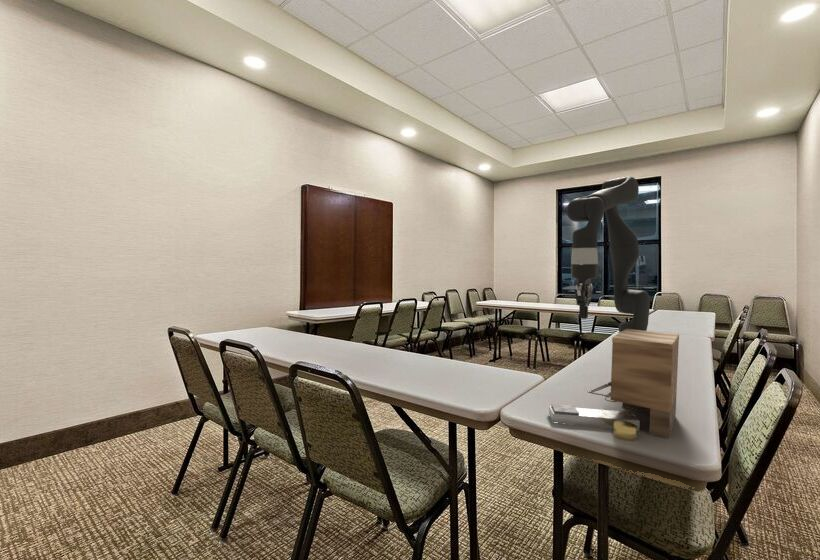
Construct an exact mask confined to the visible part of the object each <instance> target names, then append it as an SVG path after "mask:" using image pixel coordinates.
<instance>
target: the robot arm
mask: <svg viewBox="0 0 820 560" xmlns="http://www.w3.org/2000/svg"><path fill="white" fill-rule="evenodd" d="M638 195H639V183H638V180H636V178H635V177H633V176H623V177H618V178H613V179H607V180H604V182H602V185H601V189H600V190H598V191H595V192H593V193H590V194H589V195H586V196H582V197H581V196H580V197H577V198H574V199H572V200H571V201H570V202H569V203H568V205H567V207H566V211H565V212H566V216H567V218H568V219H569V220H570V221H572V222H577V223H580V222H587V224H586V225H585V226H584V227H582V228H577V229H575V230H574V231H573V232H572V248H571V249H572V252H571V261H570V263H571V264H570V265H571V266H570V267H571V269H570V272H571V273H570V276H571V277H570V278H572V279H577V284H575V289H574V296H575V300H576V305H577V306H578V307H579V311H578V312H579V313H578V316H579V318H580V319H582V320H585V319H588V317H589V306H590V304H591V302H592V296H593V291H594V287H593V284H592V283H591V279H594V280H595V279H597V278H598V274H599V270H598V269H599V254H598V235H599V230H600V227H601V223H602V221H603V217H604V214H605V218H606V224H607V229H608V230H607V231H608V241H609V249H610V259H611V264H612V272H613V273H612V274H613V301H614V302H613V303H614V306H615V308H616V309H615V310H617V312H619V313H621V314H626V315H627V314H628V315H633V316H632V318H631V319H630V320H628V321H625V322H620V323H619V324H618V333H617V334H619V333H620V332H622V331H624V330H625V329H633V330H643V331H648V325H649V318H650V317H649V315H650V308H651V298H650V295H649V293H648V291H646V290H642V289H641V290H639V289H629V283H628V282H629V276H630V274H631V272H632V270H633V269H634V267H635V265H636V263H637V262H638V259H639V256H640V251H639V250H640V249H639V241H638V240H639V239H638V237H637V235H636V233H635V232H634V231H633V230H632V228H631V227H630V226H629V225H628V224H627V223H626V222H625V221H624V220H623V217H622V216H621V215H620V212H619V210H618V207H617V206H618V205H622V204H629V203H632V202H634V201H635V200H636V199H637V198H638Z"/></svg>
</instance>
